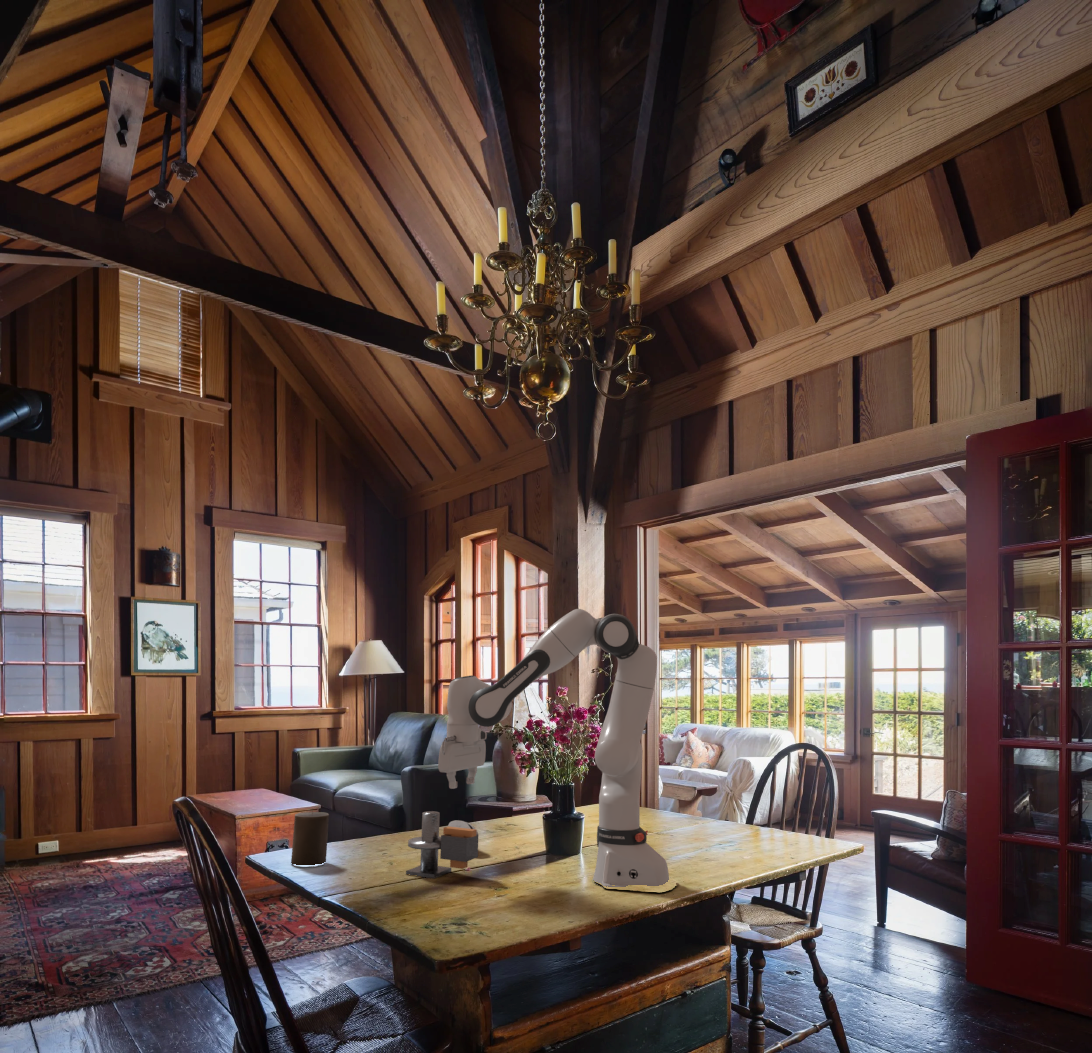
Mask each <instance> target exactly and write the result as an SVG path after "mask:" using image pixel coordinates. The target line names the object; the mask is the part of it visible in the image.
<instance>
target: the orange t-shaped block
mask: <svg viewBox="0 0 1092 1053" xmlns="http://www.w3.org/2000/svg"><path fill="white" fill-rule="evenodd" d="M442 830H443V832H442V833H443V834H442V835H444V834H448V835H451V836H457V837H474V836H476V832H478V830H477V829H476V828H475V829H467V828H458V827H449V826H448V825H447V826H445V827H443V829H442ZM449 861H450V862H449V864H450V865H449V867H450V868H451V869H452V868H453V869H460V870H461V869H462V870H463V869H465V868H468V866H469V865H468V862H469V861H467V862H462V861H455V860H449Z"/></svg>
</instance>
